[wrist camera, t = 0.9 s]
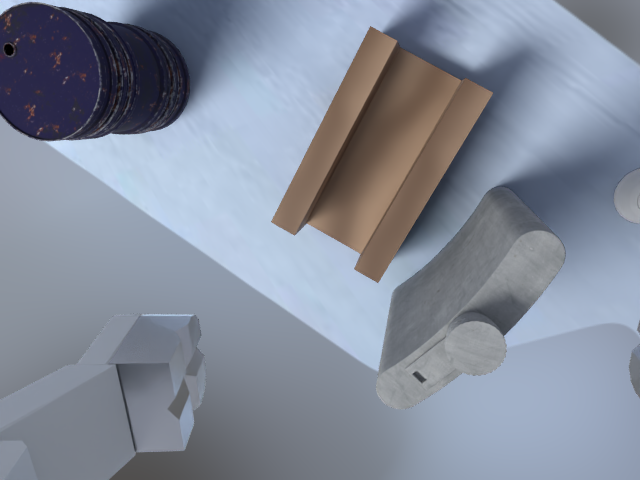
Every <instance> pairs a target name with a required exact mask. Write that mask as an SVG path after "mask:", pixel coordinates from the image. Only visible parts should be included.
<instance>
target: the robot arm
mask: <svg viewBox="0 0 640 480" xmlns="http://www.w3.org/2000/svg"><path fill="white" fill-rule="evenodd" d="M637 331H638V333H639V334H640V321H639V325H638V328H637ZM200 337H201V330H200V324H199V319H198V318H197V316H196V315H173V314H170V315H169V314H144V315H142V314H124V315H123V314H121V315H115V316H112V317H111V319H110V320H109V321H108V323H107V324H106V325H105V327H104V328H103V329H102V331H101V332H100V333H99V335H98V336H97V337H96V339H95V340H94V341H93V343H92V344H91V346H90V347H89V348H88V349H87V351H86V352H85V353H84V355H83V356H82V357H81V359H80V360H79V361H78V363H77V364H76V365H66V366H64V367H62V368H60V369H59V370H57V371H55V372H53V373H51V374H49V375H47V376H45V377H43V378H41V379H39V380H38V381H36V382H34V383H32V384H30V385H28V386H26V387H24V388H22V389H20V390H19V391H16V392H14V393H13V394H10V395H9V396H7V397H5V398H3V399H1V400H0V480H109V479H110V478H111V477H112V476H113V475H114V474H115V473H116V472H117V471H118V470H119V469H121V468H122V467H123V466H124V465H125V464H126V463H127V462H128V461H129V460H130V459H132V458H133V457H134V456H135V452H157V451H184V450H185V447H186V445H187V442H188V439H189V436H190V433H191V431H192V428H193V425H194V418H193V410H195V409H196V408H197V407H199V406H200V405H201V402H202V399H203V395H204V390H205V382H206V365H205V357H204V354H203V353H202V352H201V351H200V350H199V349H198V348H197V345H198V342H199V340H200ZM629 371H630V378H631V383H632V385H633V388H634V390H635V392H636V394H637V395H638V396H639V398H640V344H639V345H638V346H637V347H636V348H635V349H634V350H633V351H632V354H631V359H630V364H629Z"/></svg>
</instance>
